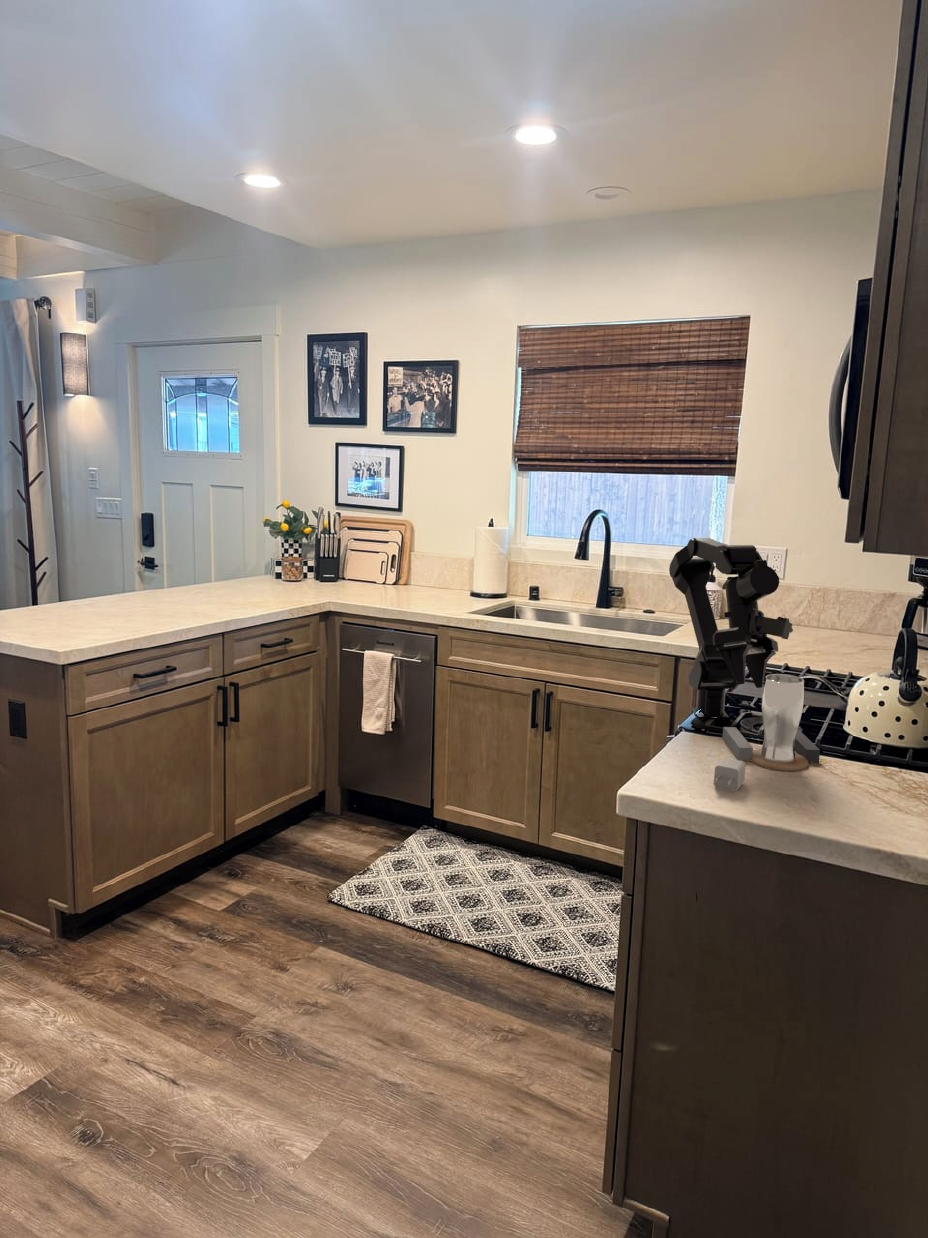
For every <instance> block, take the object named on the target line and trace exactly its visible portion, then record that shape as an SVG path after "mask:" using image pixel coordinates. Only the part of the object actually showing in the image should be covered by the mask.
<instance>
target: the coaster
mask: <svg viewBox="0 0 928 1238" xmlns="http://www.w3.org/2000/svg"><path fill="white" fill-rule="evenodd" d="M761 749H762V748H760V749H756V750H753V754H752V757H751V762H752V763H753V764H754V765H757V766H759V767H762V768H764V769H769V770H773V771H777V772H778V771H780V772H800V771H803V770H806V769H807V768H808V767H809V762H808V760H807V759H805V758H804V757H803V756H802V755H799V754H797V753H796V752H795V756H796V760H795V761H794V762H792V763H787V764H782V763H774V762H770V761H767V760H764V759H763V758H761V756H760V753H761Z"/></svg>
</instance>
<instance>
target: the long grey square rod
mask: <svg viewBox="0 0 928 1238" xmlns="http://www.w3.org/2000/svg"><path fill="white" fill-rule="evenodd" d="M795 753H797V754H799V755H802V756H803V757H804V758H805V759H807V760H808V763H820V758H821V757H820V755H821V749H820V748H819V747H818V746H817V745H816V744H814V743H813V742H812V741H811V740H810V739H809V738H808V737H807V735H805V734H804V733H803V732H802V731H801V730H800V729H797V732H796V736H795Z"/></svg>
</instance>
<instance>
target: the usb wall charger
mask: <svg viewBox="0 0 928 1238" xmlns="http://www.w3.org/2000/svg"><path fill="white" fill-rule="evenodd" d="M745 777H746V762H744V760H738V759H735V758H734V759H733V758H728V757H724V758H722V759H721V760H720V761H719V762H718V764H716V766H715V767H714V773H713V786H714V787H715V788H718V789H721V790H726V791H731V792H737V791H738V790H739V789H740V787H741V786H742V785H743V784H744V783H745V779H746V778H745Z"/></svg>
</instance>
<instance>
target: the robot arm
mask: <svg viewBox="0 0 928 1238" xmlns="http://www.w3.org/2000/svg"><path fill="white" fill-rule="evenodd" d="M714 567H715V569H716V570H717V571H718V572H720V573H721V574H723V575H724V574H725V575H728V576H727V578H726V580H725V581H724V582H723V584H722V586H721V587H722V590H724V591H725V595H726V596H725V597H726V607H727V611H726V612H724V613H723V614H724V618H725V619H728V628H724V629H719V628H718V625H717V622H716V618H715V615H714V610H713V608H712V604H711V600H710V597H709V593H708V590H707V584H708V583H709V581H710V577H711V573H712V571H713V569H714ZM668 569H669V570H668V571H669V575H670V577H671V579H672V582H673V584H674V587H675V588H676V590H678V591H680V593H682V594H683V595H684V597H685V601H686V603H687V604H686V605H687V607H688V612H689V616H690V619H691V623H692V627H693V631H694V635H695V638H696V642H697V646H698V652H697V655H696V657H695V659H694V665H693V667H692V668H691V670H690V672H689V674H688V684H689V685H690V686H691V687H693V688H694V689H695V690H697V694H696V706H693V707H692V708H691V711H692V712H693V713H694V714H695V713H696V712H697V711H698V710H700V709H701V710H700V711H699V713H700V712H702V713H703V714H704V716H706V717H720V718H719V719H723V718H728V719H729V715H728V714H727V712H726V711H725V702H726V690H727V689H728V690H729V689H730V690H735V689H736V686H737V684H738V685H744V684H745V681H746V668H747V670H748V672H749V675H750V677H751V679H752V682H753V684H754V686H755V688H757V689H761V688H764V682H765V676H766V670H767V665H768V662H769V661H770V660H771V658H772V657H773V656H775V655H776V653H778V652H779V645H778V641H776V640H775V639H774V638H772V637H770V636H774V637H779V638H781V639H783V640H789V637H790V633H792V632H794V629H793V623H792V622H790V619H789V618H788V617H782V616H778V617H777V618H773V617H768V616H767V617H766V616H765V613H764V612H763V611H762V610H760V609H759V603H758V602H759V601H760V600H761V599H763V598H765V597H767V596H769V595H772V594H773V593H775V592H777V590H778V588H779V587H780V576H778V573H777V572H776V571H775V569H773V568H772V567H770V566H769V565H768V561H767V560H766V559H763V558H762V556H761V554H760V553H759V551H758V550H757V548H756V546H754V545H753V544H727V543H724V542H720V541H717V540H714V538H711V537H693V538H692V539H689V540H688V543H687V544H686V545H685V546H684V547H682V548H681V549H680V550H678V551H677V552H676V553H674V556H673V558H672V559H671V561H670V564H669V568H668ZM729 575H730V576H729ZM731 575H734V576H731ZM735 575H736V576H735ZM768 635H769V636H768ZM696 715H697V714H695V716H696Z"/></svg>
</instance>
